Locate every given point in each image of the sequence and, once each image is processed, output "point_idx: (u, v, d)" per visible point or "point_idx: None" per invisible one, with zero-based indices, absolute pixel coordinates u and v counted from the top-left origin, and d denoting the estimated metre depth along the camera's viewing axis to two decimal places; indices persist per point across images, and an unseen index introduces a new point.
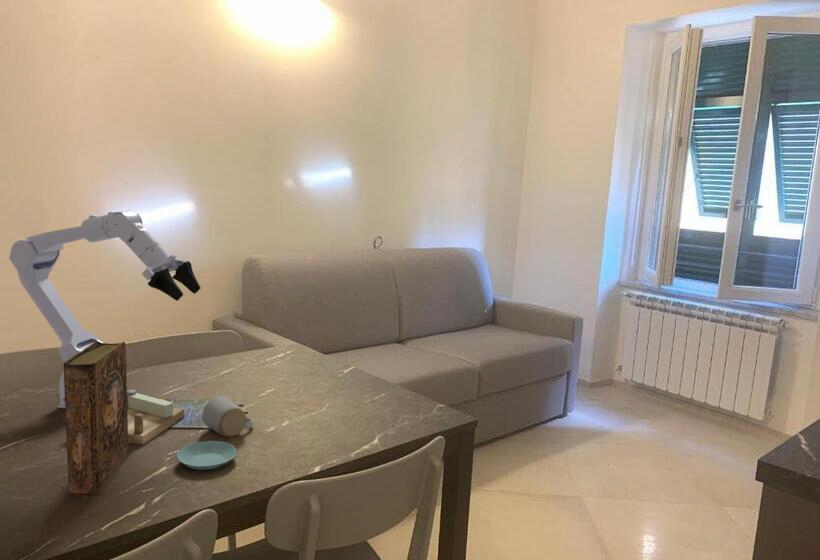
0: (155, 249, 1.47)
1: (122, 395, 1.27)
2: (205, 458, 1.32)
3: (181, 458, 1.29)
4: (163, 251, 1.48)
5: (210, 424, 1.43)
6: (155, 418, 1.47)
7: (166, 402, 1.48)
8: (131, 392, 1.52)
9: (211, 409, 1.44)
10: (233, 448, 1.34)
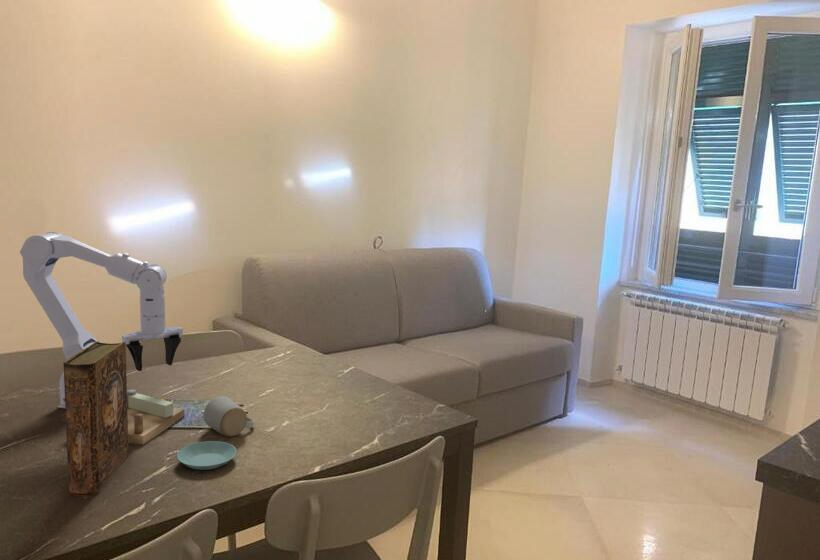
0: (151, 321, 1.54)
1: (122, 395, 1.27)
2: (205, 458, 1.32)
3: (181, 458, 1.29)
4: (156, 325, 1.55)
5: (211, 424, 1.44)
6: (155, 418, 1.47)
7: (166, 402, 1.48)
8: (131, 392, 1.52)
9: (212, 409, 1.44)
10: (233, 448, 1.34)
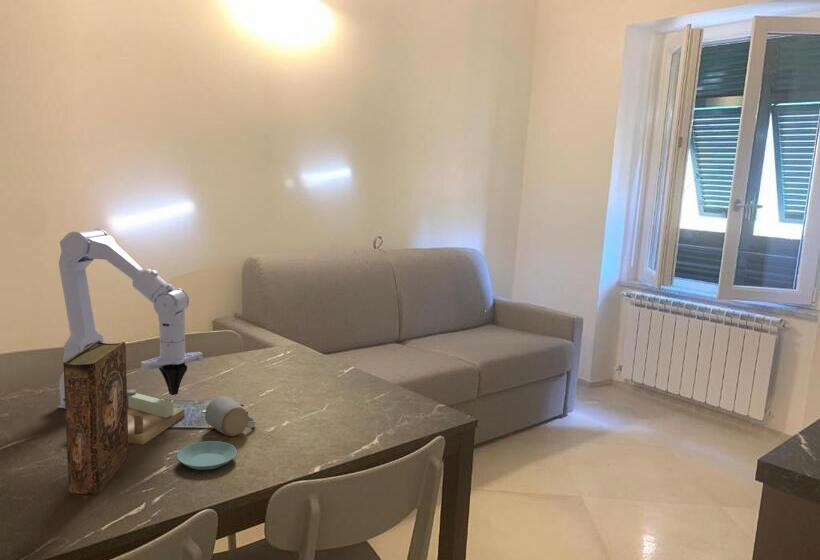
0: (171, 347, 1.49)
1: (122, 395, 1.27)
2: (205, 458, 1.32)
3: (181, 458, 1.29)
4: (176, 351, 1.50)
5: (213, 423, 1.44)
6: (155, 418, 1.47)
7: (166, 402, 1.48)
8: (131, 392, 1.52)
9: (214, 408, 1.44)
10: (233, 448, 1.34)
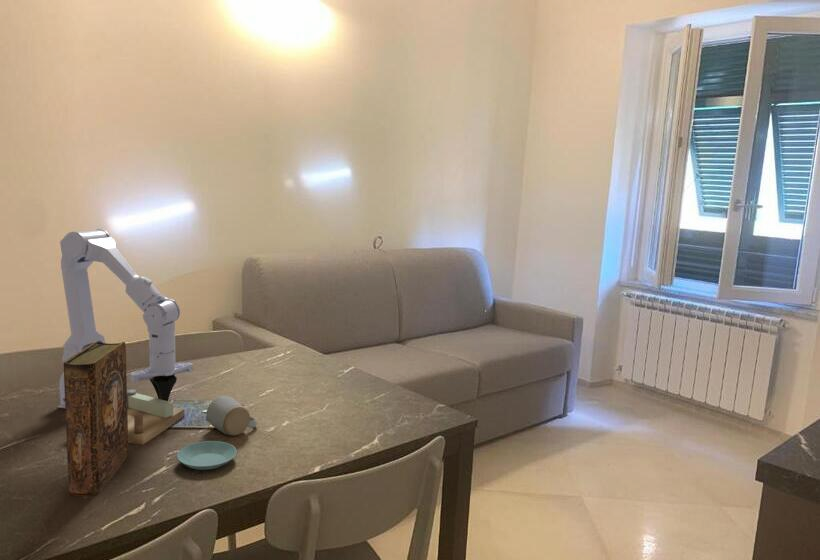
0: (160, 358, 1.47)
1: (122, 395, 1.27)
2: (205, 458, 1.32)
3: (181, 458, 1.29)
4: (166, 363, 1.48)
5: (214, 423, 1.44)
6: (155, 418, 1.47)
7: (166, 402, 1.48)
8: (131, 392, 1.52)
9: (215, 408, 1.44)
10: (233, 448, 1.34)
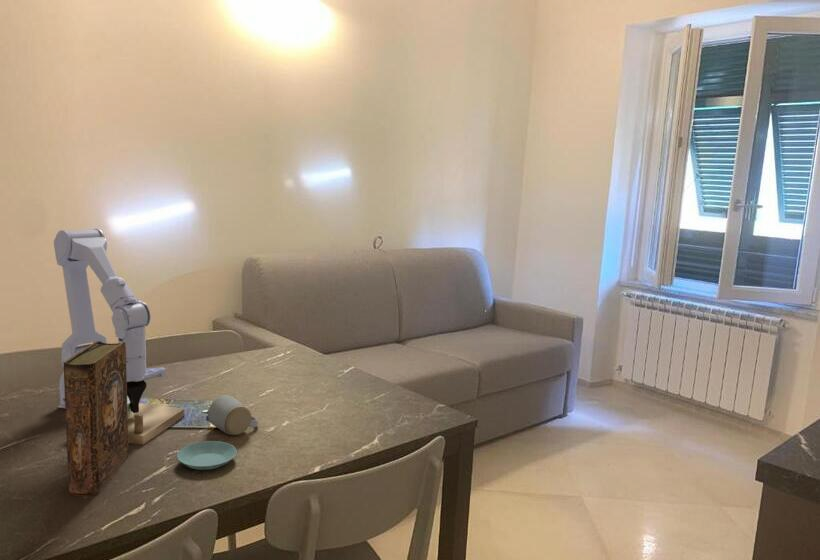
0: (130, 363, 1.42)
1: (122, 395, 1.27)
2: (205, 458, 1.32)
3: (181, 458, 1.29)
4: (136, 368, 1.43)
5: (216, 423, 1.44)
6: (155, 418, 1.47)
7: None
8: None
9: (216, 408, 1.45)
10: (233, 448, 1.34)
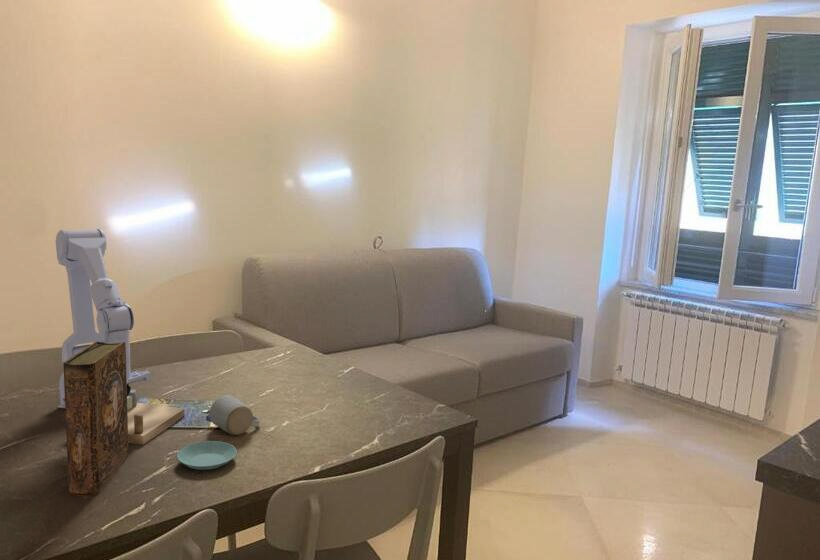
0: None
1: (122, 395, 1.27)
2: (205, 458, 1.32)
3: (181, 458, 1.29)
4: None
5: (217, 422, 1.45)
6: (155, 418, 1.47)
7: None
8: None
9: (218, 407, 1.45)
10: (233, 448, 1.34)
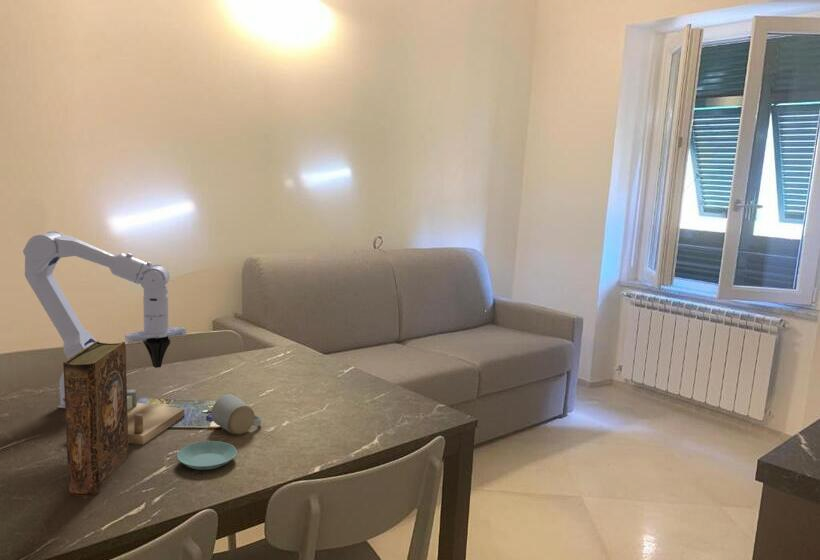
0: (154, 321, 1.55)
1: (122, 395, 1.27)
2: (205, 458, 1.32)
3: (181, 458, 1.29)
4: (159, 325, 1.56)
5: (219, 422, 1.45)
6: (155, 418, 1.47)
7: None
8: (127, 392, 1.52)
9: (220, 407, 1.45)
10: (233, 448, 1.34)
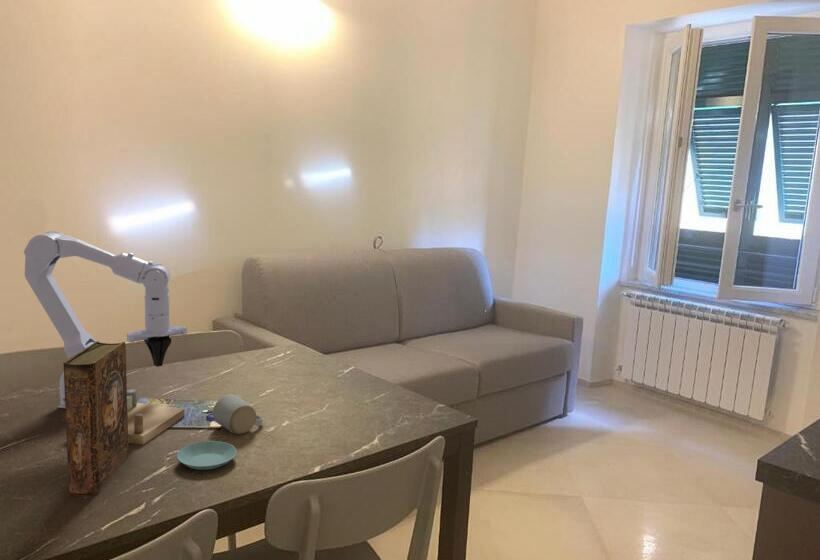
0: (155, 320, 1.56)
1: (122, 395, 1.27)
2: (205, 458, 1.32)
3: (181, 458, 1.29)
4: (161, 324, 1.57)
5: (221, 421, 1.45)
6: (155, 418, 1.47)
7: None
8: (127, 392, 1.52)
9: (222, 406, 1.46)
10: (233, 448, 1.34)
